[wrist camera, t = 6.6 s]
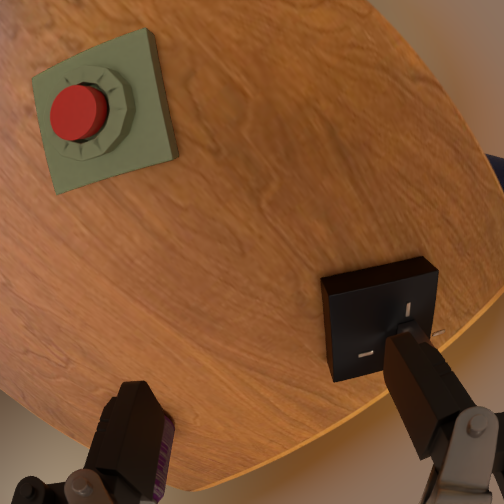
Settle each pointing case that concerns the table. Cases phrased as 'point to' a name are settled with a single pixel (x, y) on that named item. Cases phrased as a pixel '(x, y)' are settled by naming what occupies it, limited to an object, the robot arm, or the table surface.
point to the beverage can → (163, 462)
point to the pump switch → (109, 112)
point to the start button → (78, 112)
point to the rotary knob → (414, 331)
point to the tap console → (374, 312)
